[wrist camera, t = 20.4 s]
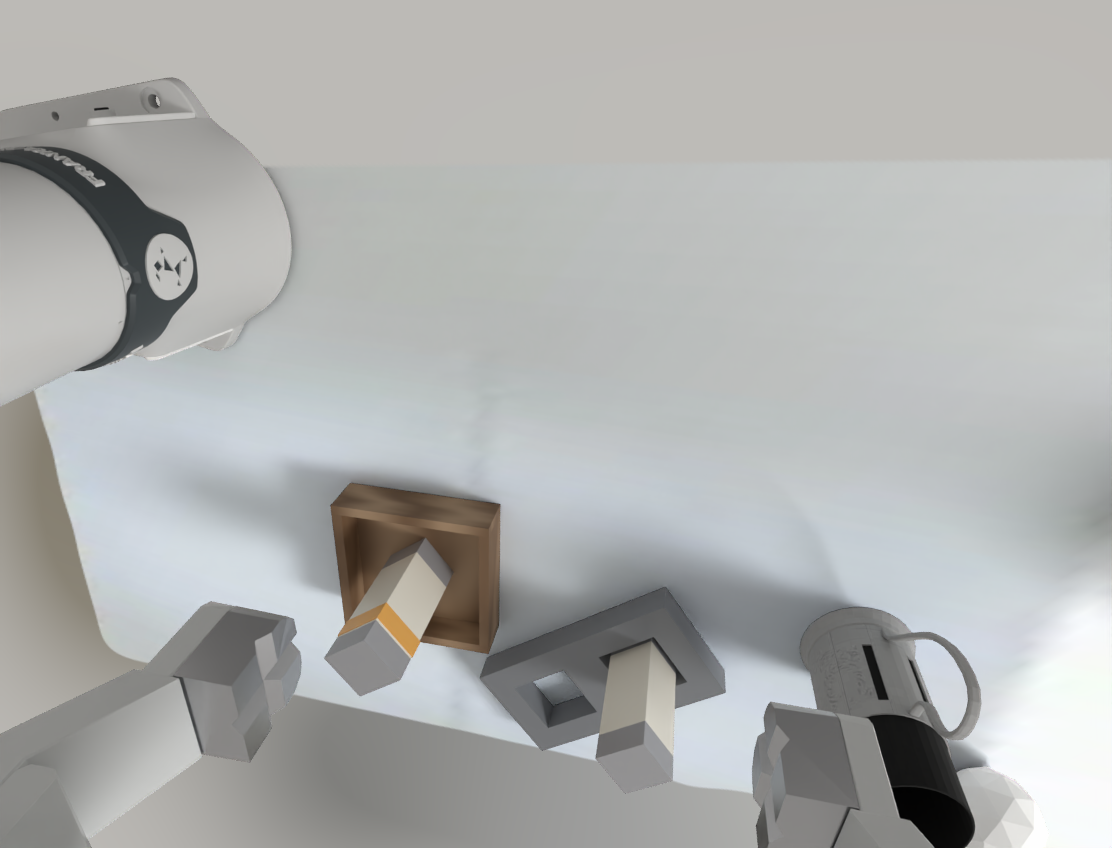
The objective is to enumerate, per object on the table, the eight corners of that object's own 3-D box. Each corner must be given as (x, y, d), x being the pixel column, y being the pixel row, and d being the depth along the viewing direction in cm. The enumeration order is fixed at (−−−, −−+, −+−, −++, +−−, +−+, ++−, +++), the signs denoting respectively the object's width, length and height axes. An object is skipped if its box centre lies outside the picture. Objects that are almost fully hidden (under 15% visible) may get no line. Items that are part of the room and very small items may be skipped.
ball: (982, 741, 60) (1081, 803, 53) (958, 822, 61) (1052, 894, 54) (928, 748, 57) (1026, 816, 50) (902, 834, 58) (995, 912, 51)
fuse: (636, 670, 60) (624, 793, 50) (612, 639, 59) (595, 758, 49) (676, 656, 59) (672, 780, 48) (652, 624, 58) (643, 744, 47)
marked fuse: (419, 588, 59) (359, 697, 49) (390, 554, 58) (323, 657, 48) (454, 572, 58) (401, 680, 47) (425, 536, 57) (364, 639, 46)
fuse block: (546, 728, 66) (541, 750, 64) (486, 657, 63) (479, 678, 61) (724, 670, 59) (725, 692, 56) (665, 586, 56) (664, 607, 54)
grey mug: (782, 668, 57) (809, 842, 44) (858, 540, 51) (917, 699, 37) (883, 701, 57) (941, 887, 44) (973, 576, 50) (1073, 750, 37)
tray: (362, 602, 63) (345, 628, 60) (350, 483, 57) (330, 505, 54) (498, 625, 61) (488, 653, 58) (500, 504, 55) (488, 528, 52)
